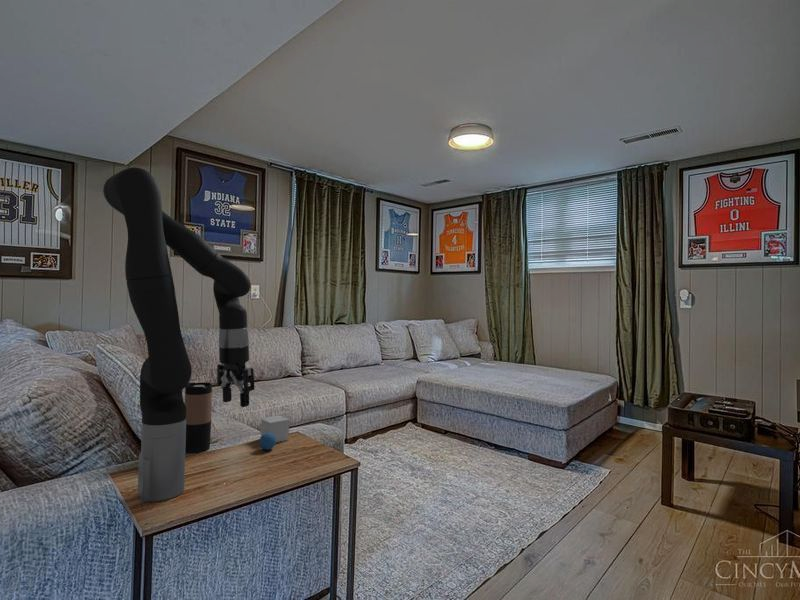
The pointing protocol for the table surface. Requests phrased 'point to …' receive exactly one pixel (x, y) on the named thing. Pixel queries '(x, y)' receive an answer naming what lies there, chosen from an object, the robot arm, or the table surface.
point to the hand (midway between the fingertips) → (235, 404)
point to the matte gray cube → (276, 427)
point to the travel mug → (198, 417)
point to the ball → (267, 441)
